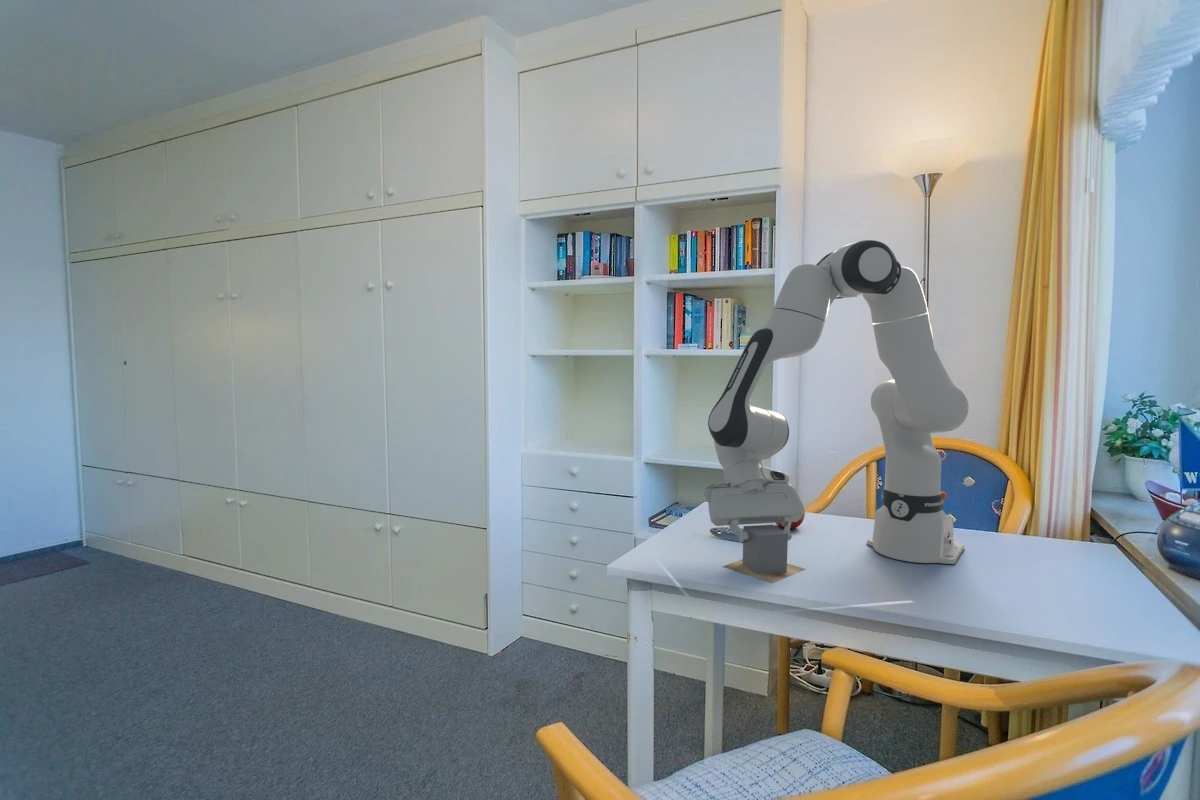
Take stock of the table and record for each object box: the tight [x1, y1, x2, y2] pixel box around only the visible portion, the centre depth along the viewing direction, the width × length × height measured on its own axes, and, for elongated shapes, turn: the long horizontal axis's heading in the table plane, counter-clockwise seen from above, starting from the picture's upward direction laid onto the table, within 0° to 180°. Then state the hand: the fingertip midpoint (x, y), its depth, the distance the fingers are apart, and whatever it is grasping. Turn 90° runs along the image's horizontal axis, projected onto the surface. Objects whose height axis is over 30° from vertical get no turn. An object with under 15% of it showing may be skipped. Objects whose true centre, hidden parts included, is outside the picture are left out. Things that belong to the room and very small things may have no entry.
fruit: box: [775, 509, 806, 530], centre depth 159 cm, size 8×8×8 cm
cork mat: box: [722, 558, 806, 584], centre depth 129 cm, size 12×12×1 cm
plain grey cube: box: [742, 524, 789, 574], centre depth 128 cm, size 7×7×8 cm
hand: (766, 540), depth 127 cm, fingers open, 8 cm apart
